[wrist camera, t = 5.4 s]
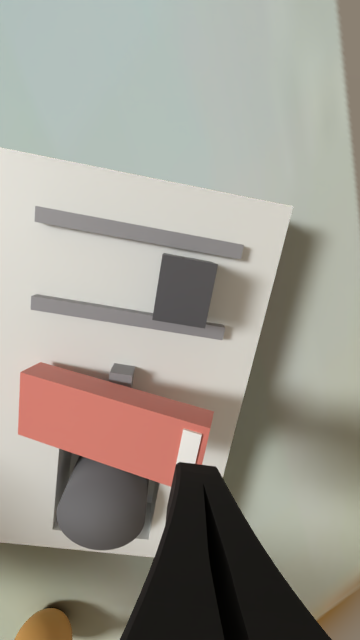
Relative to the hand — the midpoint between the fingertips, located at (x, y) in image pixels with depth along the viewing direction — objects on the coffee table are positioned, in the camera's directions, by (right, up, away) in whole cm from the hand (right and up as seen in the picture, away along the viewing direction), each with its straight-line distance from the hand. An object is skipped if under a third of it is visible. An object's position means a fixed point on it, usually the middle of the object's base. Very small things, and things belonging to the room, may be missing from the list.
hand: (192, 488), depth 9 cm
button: (-4, -3, +8) cm, 10 cm away
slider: (0, +7, +3) cm, 8 cm away
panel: (-3, +2, +7) cm, 8 cm away
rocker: (-3, +1, +3) cm, 4 cm away
